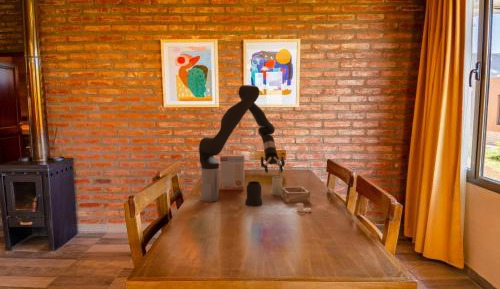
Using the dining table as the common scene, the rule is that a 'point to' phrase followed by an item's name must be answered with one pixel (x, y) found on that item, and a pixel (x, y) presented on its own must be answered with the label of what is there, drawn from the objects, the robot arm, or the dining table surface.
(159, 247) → the dining table surface
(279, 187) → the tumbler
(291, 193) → the crate
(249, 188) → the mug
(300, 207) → the teacup and saucer
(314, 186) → the dining table surface
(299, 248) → the dining table surface
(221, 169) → the cracker box
